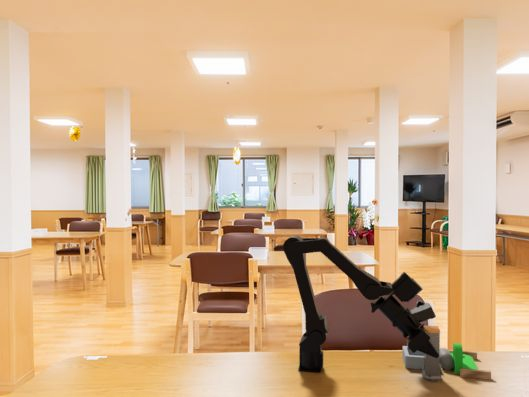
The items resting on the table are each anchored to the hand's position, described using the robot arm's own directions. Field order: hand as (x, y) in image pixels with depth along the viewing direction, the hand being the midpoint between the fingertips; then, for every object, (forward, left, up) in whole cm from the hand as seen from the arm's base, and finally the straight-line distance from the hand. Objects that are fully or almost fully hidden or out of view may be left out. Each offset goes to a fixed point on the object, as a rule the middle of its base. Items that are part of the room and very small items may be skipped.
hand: (436, 354), depth 126 cm
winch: (-1, +10, -7) cm, 12 cm away
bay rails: (+11, +10, -7) cm, 16 cm away
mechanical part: (+9, +10, -7) cm, 15 cm away
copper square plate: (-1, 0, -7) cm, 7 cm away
